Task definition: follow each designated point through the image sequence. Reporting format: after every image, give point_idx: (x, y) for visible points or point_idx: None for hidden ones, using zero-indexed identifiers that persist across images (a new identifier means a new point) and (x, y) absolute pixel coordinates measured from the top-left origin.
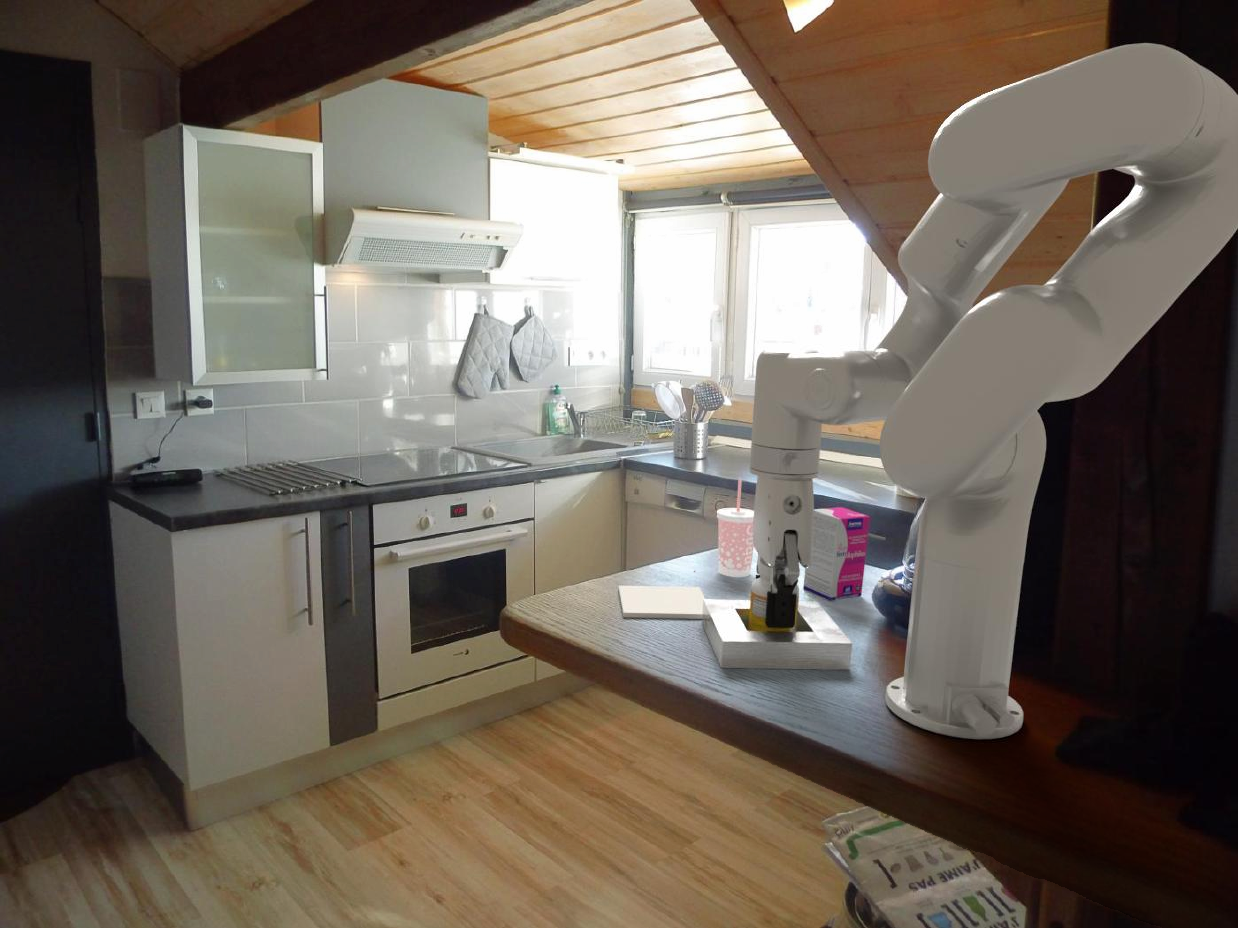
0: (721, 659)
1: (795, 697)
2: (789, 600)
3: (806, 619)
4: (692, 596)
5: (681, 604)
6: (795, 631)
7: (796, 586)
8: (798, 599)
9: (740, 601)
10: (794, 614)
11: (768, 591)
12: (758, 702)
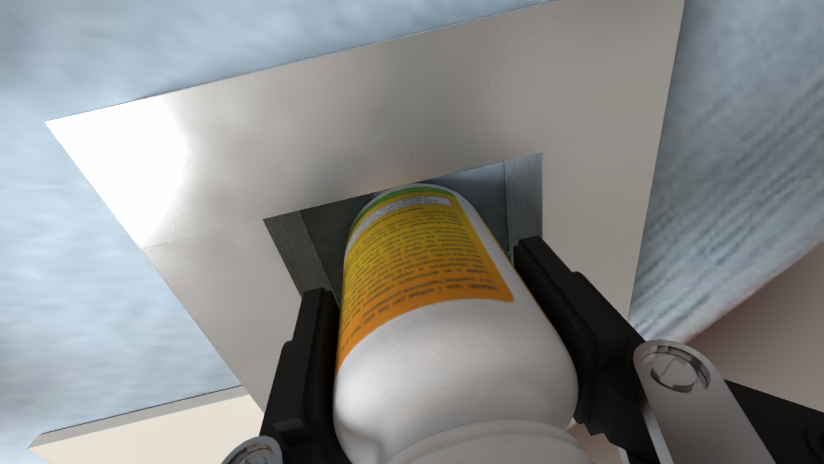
0: None
1: (755, 176)
2: (636, 337)
3: (387, 181)
4: (135, 444)
5: (221, 447)
6: (454, 208)
7: (722, 387)
8: (475, 280)
9: (263, 388)
10: (564, 264)
11: (593, 431)
12: (754, 248)
